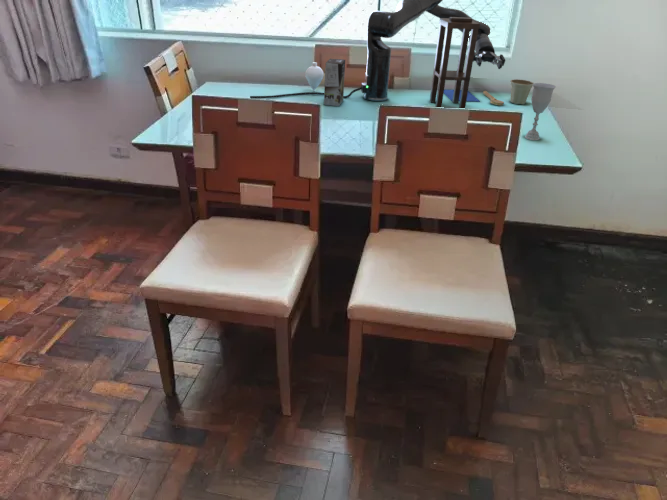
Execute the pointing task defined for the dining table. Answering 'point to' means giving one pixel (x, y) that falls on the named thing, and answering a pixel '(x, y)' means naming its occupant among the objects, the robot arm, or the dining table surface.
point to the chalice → (539, 105)
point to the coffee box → (334, 82)
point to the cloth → (469, 96)
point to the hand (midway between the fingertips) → (490, 65)
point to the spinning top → (314, 75)
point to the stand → (459, 74)
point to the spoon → (493, 99)
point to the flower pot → (520, 91)
